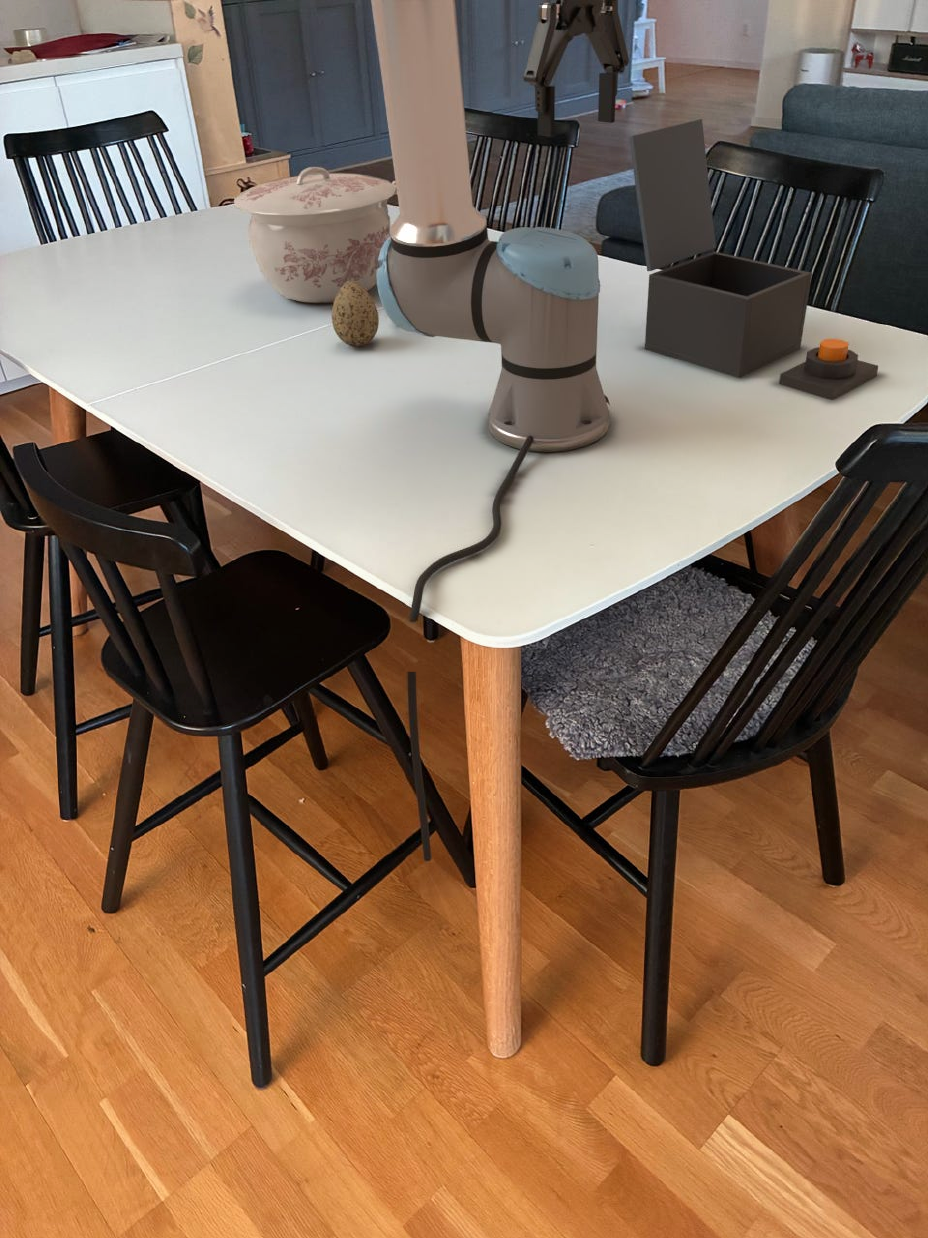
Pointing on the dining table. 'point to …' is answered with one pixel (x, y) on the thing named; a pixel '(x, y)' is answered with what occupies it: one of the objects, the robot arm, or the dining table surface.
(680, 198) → the dark grey box lid
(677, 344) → the dark grey box
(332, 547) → the dining table surface
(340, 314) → the decorative egg
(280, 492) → the dining table surface
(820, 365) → the control block
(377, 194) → the chamber pot
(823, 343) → the button
